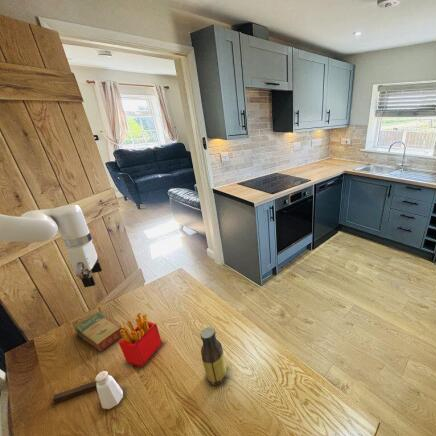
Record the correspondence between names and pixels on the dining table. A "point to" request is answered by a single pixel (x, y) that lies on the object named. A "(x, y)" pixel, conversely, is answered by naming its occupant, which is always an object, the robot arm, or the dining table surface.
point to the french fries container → (140, 341)
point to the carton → (99, 331)
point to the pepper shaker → (108, 390)
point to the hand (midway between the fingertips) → (93, 278)
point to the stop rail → (75, 392)
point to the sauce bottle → (213, 357)
